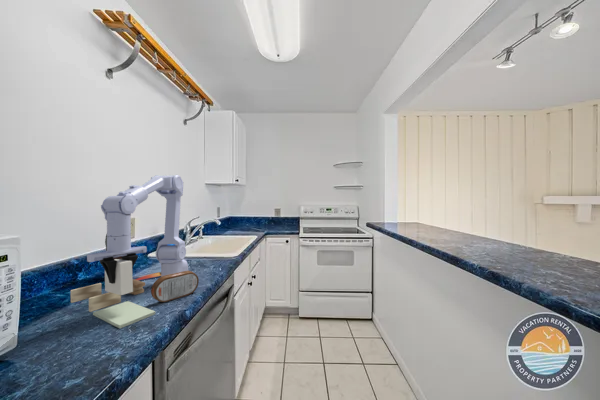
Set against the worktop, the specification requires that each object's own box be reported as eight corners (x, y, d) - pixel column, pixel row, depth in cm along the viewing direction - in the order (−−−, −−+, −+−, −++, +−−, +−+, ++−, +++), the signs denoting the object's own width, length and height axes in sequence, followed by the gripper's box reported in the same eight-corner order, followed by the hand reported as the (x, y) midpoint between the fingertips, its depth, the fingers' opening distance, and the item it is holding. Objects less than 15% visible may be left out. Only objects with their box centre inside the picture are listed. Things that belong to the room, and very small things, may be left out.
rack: (100, 294, 86) (100, 283, 86) (120, 302, 78) (120, 290, 78) (70, 302, 79) (70, 290, 79) (90, 312, 71) (90, 298, 71)
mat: (127, 303, 77) (127, 301, 77) (155, 314, 69) (155, 311, 69) (93, 315, 69) (93, 312, 69) (119, 328, 61) (119, 325, 61)
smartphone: (120, 281, 101) (120, 279, 101) (160, 274, 111) (160, 271, 111) (120, 286, 95) (120, 283, 95) (163, 277, 105) (163, 275, 105)
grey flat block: (116, 287, 74) (116, 259, 75) (132, 291, 69) (131, 261, 70) (105, 290, 72) (104, 261, 72) (121, 295, 67) (120, 263, 67)
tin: (195, 290, 88) (195, 267, 88) (200, 292, 86) (199, 269, 86) (150, 304, 76) (150, 278, 76) (154, 306, 74) (154, 280, 74)
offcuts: (130, 287, 92) (130, 278, 92) (145, 292, 87) (145, 282, 87) (120, 290, 89) (120, 280, 89) (135, 295, 84) (135, 285, 84)
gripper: (138, 232, 79) (138, 272, 79) (82, 238, 66) (82, 286, 66) (150, 233, 75) (150, 275, 75) (93, 239, 63) (93, 290, 63)
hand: (119, 281), depth 70 cm, fingers closed on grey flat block, 3 cm apart
